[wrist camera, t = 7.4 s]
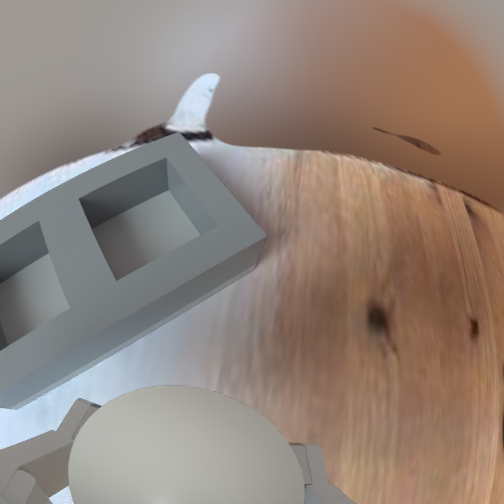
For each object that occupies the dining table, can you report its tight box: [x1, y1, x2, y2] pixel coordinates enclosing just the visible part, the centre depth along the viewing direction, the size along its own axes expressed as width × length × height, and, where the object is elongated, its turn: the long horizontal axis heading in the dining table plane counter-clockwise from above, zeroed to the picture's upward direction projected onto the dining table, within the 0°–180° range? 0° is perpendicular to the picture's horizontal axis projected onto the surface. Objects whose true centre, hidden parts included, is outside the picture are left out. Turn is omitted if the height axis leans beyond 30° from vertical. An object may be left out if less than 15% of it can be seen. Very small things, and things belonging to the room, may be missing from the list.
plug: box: [68, 385, 305, 504], centre depth 8 cm, size 4×4×9 cm
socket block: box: [0, 132, 267, 410], centre depth 17 cm, size 20×10×4 cm, turn 127°
